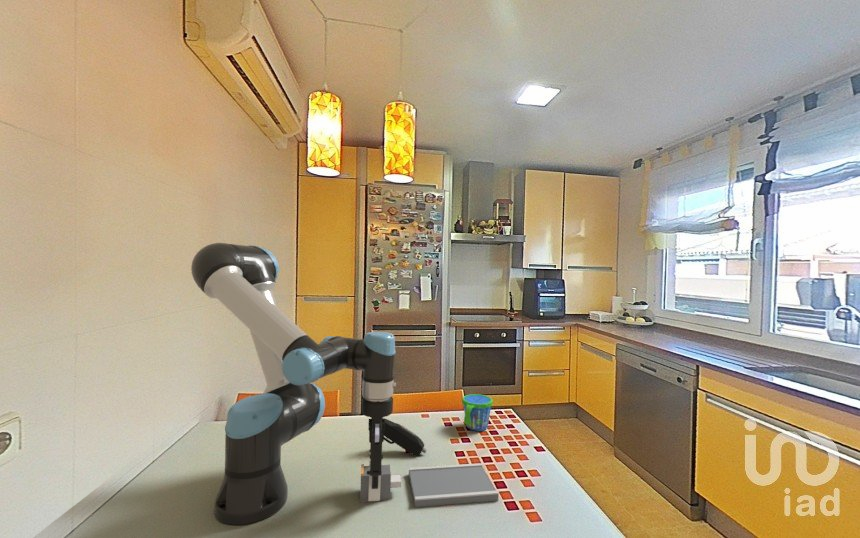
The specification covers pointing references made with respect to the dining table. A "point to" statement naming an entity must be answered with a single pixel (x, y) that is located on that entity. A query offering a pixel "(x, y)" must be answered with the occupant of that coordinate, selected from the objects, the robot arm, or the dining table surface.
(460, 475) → the slate pad
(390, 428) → the gun
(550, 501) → the dining table surface
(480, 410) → the snack cup
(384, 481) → the block
